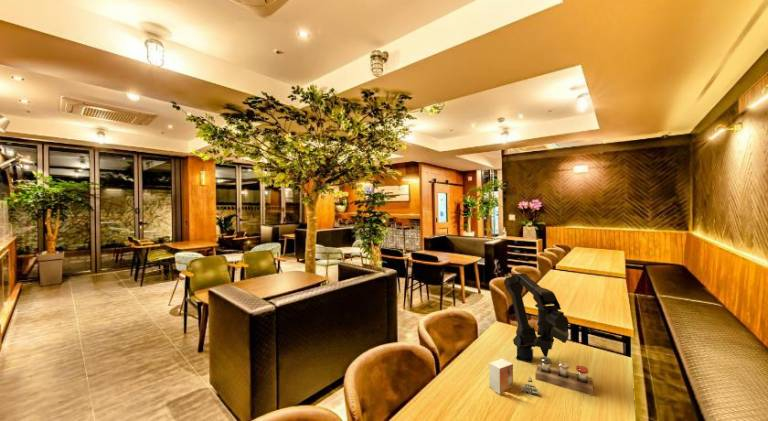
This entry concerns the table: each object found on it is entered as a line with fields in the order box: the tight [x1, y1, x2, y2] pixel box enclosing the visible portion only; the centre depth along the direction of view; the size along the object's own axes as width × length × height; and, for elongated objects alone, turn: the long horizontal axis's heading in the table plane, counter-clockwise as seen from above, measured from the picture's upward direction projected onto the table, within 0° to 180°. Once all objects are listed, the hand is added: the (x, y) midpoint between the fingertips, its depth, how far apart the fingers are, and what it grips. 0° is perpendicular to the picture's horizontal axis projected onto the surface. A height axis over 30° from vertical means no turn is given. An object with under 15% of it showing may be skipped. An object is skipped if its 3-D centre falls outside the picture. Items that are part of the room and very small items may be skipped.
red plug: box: [575, 365, 589, 384], centre depth 120 cm, size 4×4×6 cm
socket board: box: [534, 363, 594, 396], centre depth 124 cm, size 20×9×4 cm, turn 55°
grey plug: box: [540, 356, 552, 374], centre depth 128 cm, size 4×4×6 cm
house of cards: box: [520, 376, 540, 397], centre depth 119 cm, size 9×9×8 cm
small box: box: [488, 358, 514, 395], centre depth 122 cm, size 8×6×10 cm
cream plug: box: [557, 360, 570, 379], centre depth 124 cm, size 4×4×6 cm
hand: (545, 356), depth 128 cm, fingers closed
